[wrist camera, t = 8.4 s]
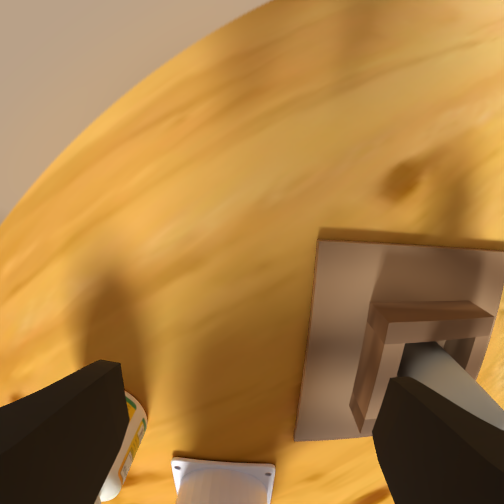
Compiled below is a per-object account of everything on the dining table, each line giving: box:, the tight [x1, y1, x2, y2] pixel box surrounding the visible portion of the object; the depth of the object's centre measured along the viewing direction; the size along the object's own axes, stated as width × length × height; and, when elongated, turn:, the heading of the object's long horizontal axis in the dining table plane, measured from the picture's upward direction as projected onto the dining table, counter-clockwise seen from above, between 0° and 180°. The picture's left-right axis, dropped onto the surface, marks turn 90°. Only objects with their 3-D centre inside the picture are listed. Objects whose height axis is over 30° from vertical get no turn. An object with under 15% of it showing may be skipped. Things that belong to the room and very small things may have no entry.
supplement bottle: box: [94, 391, 147, 504], centre depth 15 cm, size 5×5×10 cm
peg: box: [397, 341, 504, 430], centre depth 14 cm, size 3×3×10 cm
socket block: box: [293, 239, 504, 441], centre depth 17 cm, size 14×14×4 cm
